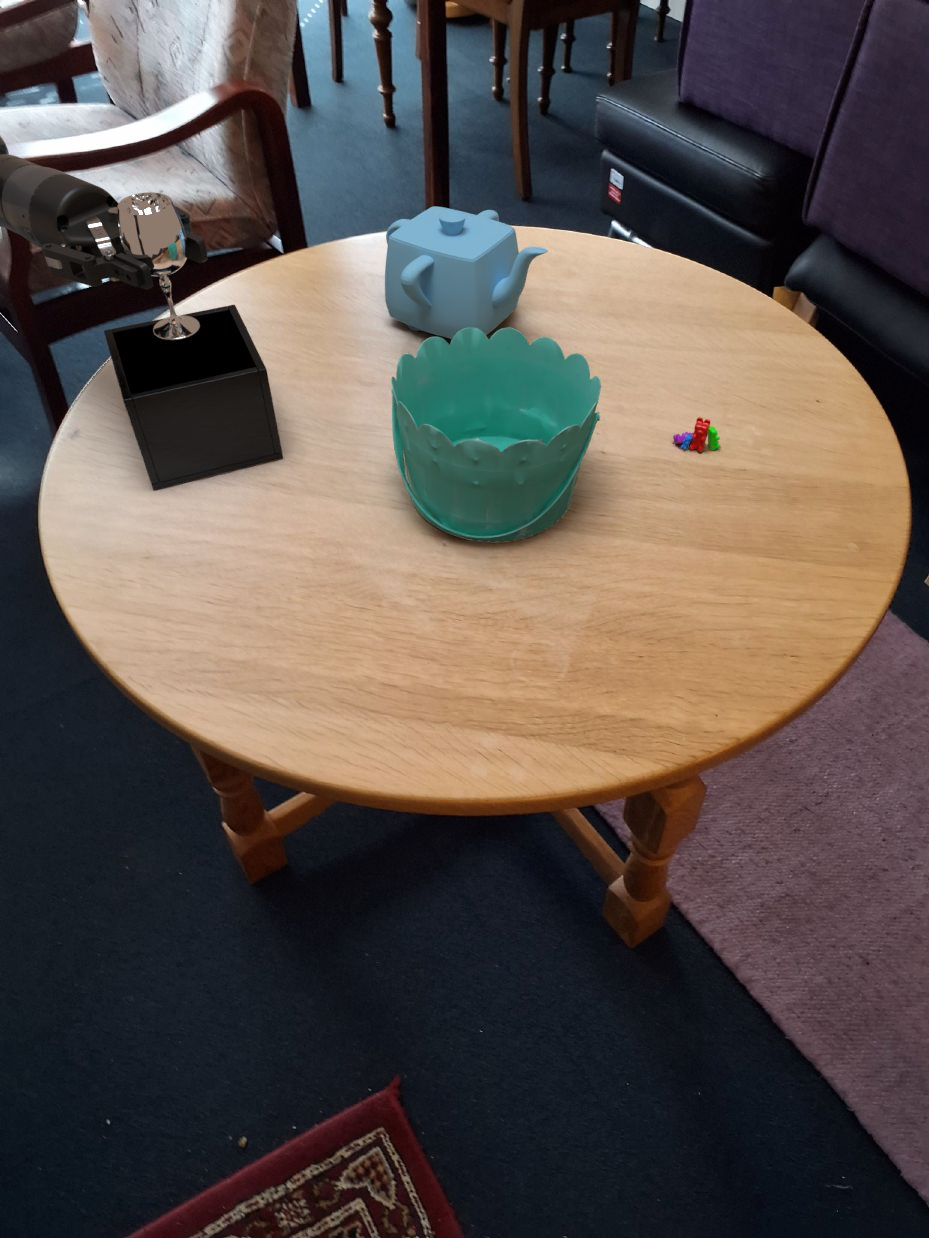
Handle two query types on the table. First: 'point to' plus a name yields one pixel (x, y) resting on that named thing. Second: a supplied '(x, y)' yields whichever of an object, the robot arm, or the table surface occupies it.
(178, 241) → the wineglass
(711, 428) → the gummy bear
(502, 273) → the teapot
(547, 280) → the table surface
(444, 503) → the basket
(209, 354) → the waste bin
